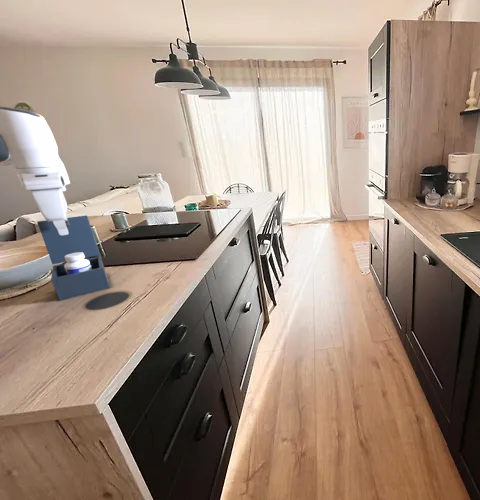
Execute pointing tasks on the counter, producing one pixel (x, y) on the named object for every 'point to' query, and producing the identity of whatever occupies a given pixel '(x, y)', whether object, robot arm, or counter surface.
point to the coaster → (107, 300)
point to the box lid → (69, 239)
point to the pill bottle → (76, 263)
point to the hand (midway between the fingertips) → (65, 230)
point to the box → (79, 280)
